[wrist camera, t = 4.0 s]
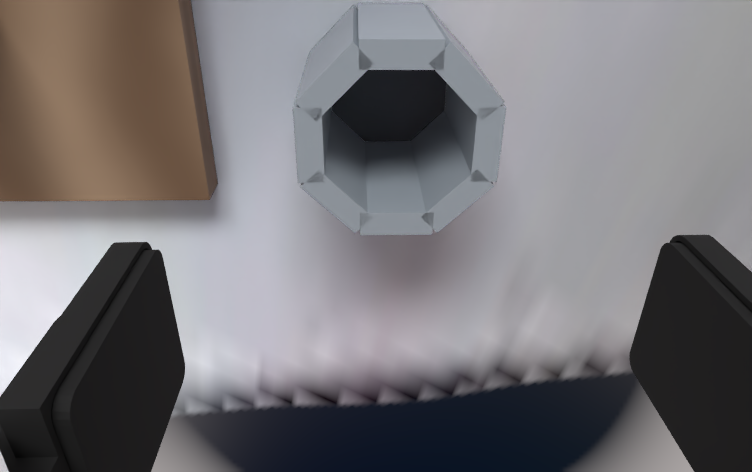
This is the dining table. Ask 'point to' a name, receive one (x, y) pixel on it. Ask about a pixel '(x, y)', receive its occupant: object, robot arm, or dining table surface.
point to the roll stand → (102, 102)
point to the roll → (396, 159)
